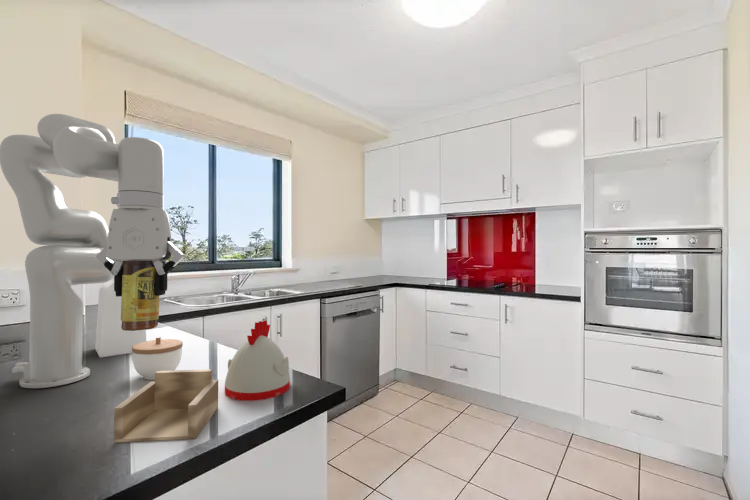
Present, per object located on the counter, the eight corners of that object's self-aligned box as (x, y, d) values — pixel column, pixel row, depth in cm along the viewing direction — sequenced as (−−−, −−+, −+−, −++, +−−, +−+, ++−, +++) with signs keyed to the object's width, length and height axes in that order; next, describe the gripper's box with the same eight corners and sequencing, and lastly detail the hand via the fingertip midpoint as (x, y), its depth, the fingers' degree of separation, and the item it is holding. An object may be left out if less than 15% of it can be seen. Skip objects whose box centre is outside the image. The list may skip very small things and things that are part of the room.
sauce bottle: (140, 332, 68) (141, 225, 68) (112, 331, 69) (112, 225, 70) (167, 326, 75) (167, 227, 75) (140, 325, 76) (141, 228, 76)
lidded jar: (190, 369, 96) (191, 333, 96) (166, 383, 85) (166, 343, 86) (149, 368, 96) (150, 332, 96) (120, 382, 86) (121, 342, 86)
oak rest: (113, 442, 59) (114, 395, 59) (150, 410, 71) (151, 371, 71) (195, 438, 61) (196, 392, 61) (217, 407, 73) (218, 369, 73)
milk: (95, 349, 115) (96, 265, 115) (138, 343, 122) (139, 264, 123) (99, 357, 106) (101, 266, 106) (146, 350, 114) (147, 265, 114)
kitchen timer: (299, 381, 88) (300, 318, 88) (270, 404, 75) (271, 329, 75) (247, 376, 91) (248, 315, 92) (210, 397, 78) (211, 325, 78)
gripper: (80, 200, 68) (79, 298, 67) (180, 201, 70) (180, 296, 69) (105, 205, 75) (104, 294, 75) (194, 206, 77) (194, 292, 77)
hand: (141, 294), depth 72 cm, fingers closed on sauce bottle, 6 cm apart
